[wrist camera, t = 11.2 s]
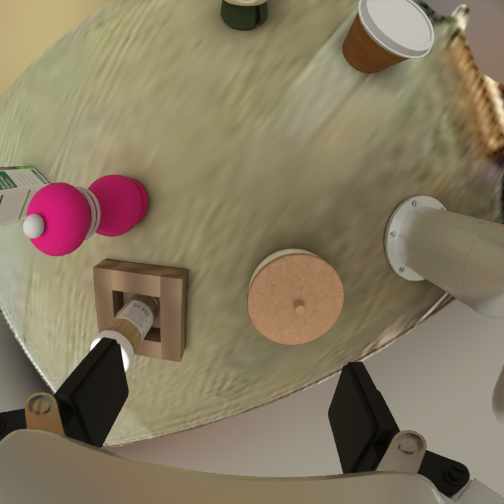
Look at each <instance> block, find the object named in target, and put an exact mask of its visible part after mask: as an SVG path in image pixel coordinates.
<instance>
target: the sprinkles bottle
mask: <svg viewBox="0 0 504 504" xmlns="http://www.w3.org/2000/svg"><path fill="white" fill-rule="evenodd" d="M159 312H160V306H159V303H158V300H157V299H156V298H155V297H154V296H147V295H140V294H134V295H133V296H132V298H131V299H130V301H129V302H128V303H127V304H125V305H124V307H123V308H122V309H121V310H120V311H119V312H118V313H117V315H116V317H115V318H114V319H113V320H112V321H111V322H110V324H109V325H108V326H107V327H106V329H105V330H104V331H102V332H100V333H99V334H98V335H97V337H96V338H95V339H94V341H93V342H92V344H91V350H92V349H93V348H94V347H95V345H96V344H97V343H98V342H99V341H100V340H101V339H102V338H103V337H107V338H112V339H115V340H116V341H117V343H119V344H120V345H121V351H122V357H123V363H124V369H125V371H126V370H127V369H128V368H129V366H130V364H131V363H132V361H133V358H134V354H135V352H136V350H137V349H138V347H139V346H140V345H141V343H142V341H143V339H144V338H145V336H146V334H147V333H148V331H149V329H150V327H151V326H152V324H153V322H154V320H155V318H157V316H158V315H159Z"/></svg>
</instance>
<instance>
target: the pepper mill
mask: <svg viewBox="0 0 504 504" xmlns="http://www.w3.org/2000/svg"><path fill="white" fill-rule="evenodd" d="M147 208H148V196H147V193H146V191H145V189H144V187H143V186H142V185H141V184H140V183H139V182H137V181H135V180H133V179H128V178H126V177H124V176H121V175H108V176H104V177H101V178H100V179H98V180H96V181H95V182H93V183H92V184H91V185H90V187H89V188H88V189H87V188H84V187H74V186H72V185H69V184H67V183H52V184H49V185H46V186H45V187H43V188H41V189H40V190H39V191H38V192H36V194H35V195H34V196H33V198H32V199H31V201H30V203H29V205H28V208H27V213H26V219H25V221H24V224H23V230H24V233H25V234H26V235H27V236H28V237H29V238H30V240H31V242H32V243H33V244H34V245H35V247H36V248H38V249H39V250H40V251H41V252H43V253H45V254H47V255H50V256H63V255H66V254H69V253H71V252H73V251H74V250H76V249H77V248H78V247H79V246H80V245H81V244H82V243H83V241H84V240H86V239H88V238H90V237H91V236H92V235H93V234H94V233H95V232H96V233H98V234H100V235H104V236H109V237H114V236H119V235H122V234H125V233H126V232H128V231H129V230H131V229H132V228H133V227H134V226H135V224H137V223H138V222H139V221H141V220H142V218H143V217H144V216H145V214H146V211H147Z"/></svg>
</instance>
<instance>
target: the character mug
mask: <svg viewBox="0 0 504 504" xmlns="http://www.w3.org/2000/svg"><path fill="white" fill-rule="evenodd" d="M204 1H207V2H208V1H211V0H204ZM221 16H222V18H223V20H224V22H226V23H227V24H228V25H230V26H231V27H233V28H238V29H242V30H244V29H253V28H255V22H257V21H258V20H259V19H260V25H261V24H263V22H264V21H265V20H266V18H267V0H222V6H221Z"/></svg>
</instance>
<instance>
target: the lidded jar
mask: <svg viewBox="0 0 504 504" xmlns="http://www.w3.org/2000/svg"><path fill="white" fill-rule="evenodd" d="M343 303H344V288H343V284H342V281H341V279H340V276H339V275H338V273H337V272H336V270H335V269H334V268H333V267H332V266H331V265H330V264H329V263H327V262H326V261H325V260H323V259H322V258H320V257H319V256H317V255H315V254H313V253H311V252H309V251H306V250H302V249H284V250H280V251H277V252H275V253H273V254H271V255H269V256H268V257H267V258H265V259H264V260H263V261H262V262H261V263H260V264H259V266H258V267H257V268H256V269H255V271H254V273H253V275H252V278H251V281H250V284H249V290H248V297H247V308H248V313H249V316H250V319H251V321H252V323H253V325H254V326H255V328H256V329H257V330H258V331H259V332H260V333H261V334H262V335H263V336H265V337H266V338H268V339H270V340H272V341H274V342H277V343H281V344H289V345H294V344H302V343H306V342H309V341H312V340H314V339H316V338H318V337H320V336H321V335H323V334H324V333H326V332H327V331H328V330H329V329H330V328H331V327H332V326H333V325H334V323H335V322H336V320H337V319H338V317H339V315H340V313H341V311H342V307H343Z"/></svg>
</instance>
